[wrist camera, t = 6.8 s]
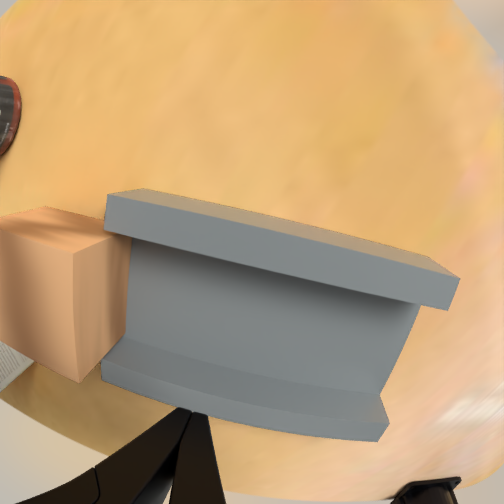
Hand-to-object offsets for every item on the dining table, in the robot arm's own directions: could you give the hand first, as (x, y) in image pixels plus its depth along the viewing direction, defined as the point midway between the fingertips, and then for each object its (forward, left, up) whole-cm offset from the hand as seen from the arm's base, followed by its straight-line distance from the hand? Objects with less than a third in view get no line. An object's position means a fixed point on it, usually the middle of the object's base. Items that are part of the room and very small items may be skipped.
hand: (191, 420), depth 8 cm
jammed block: (+9, 0, -8) cm, 11 cm away
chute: (-2, 0, -9) cm, 9 cm away
